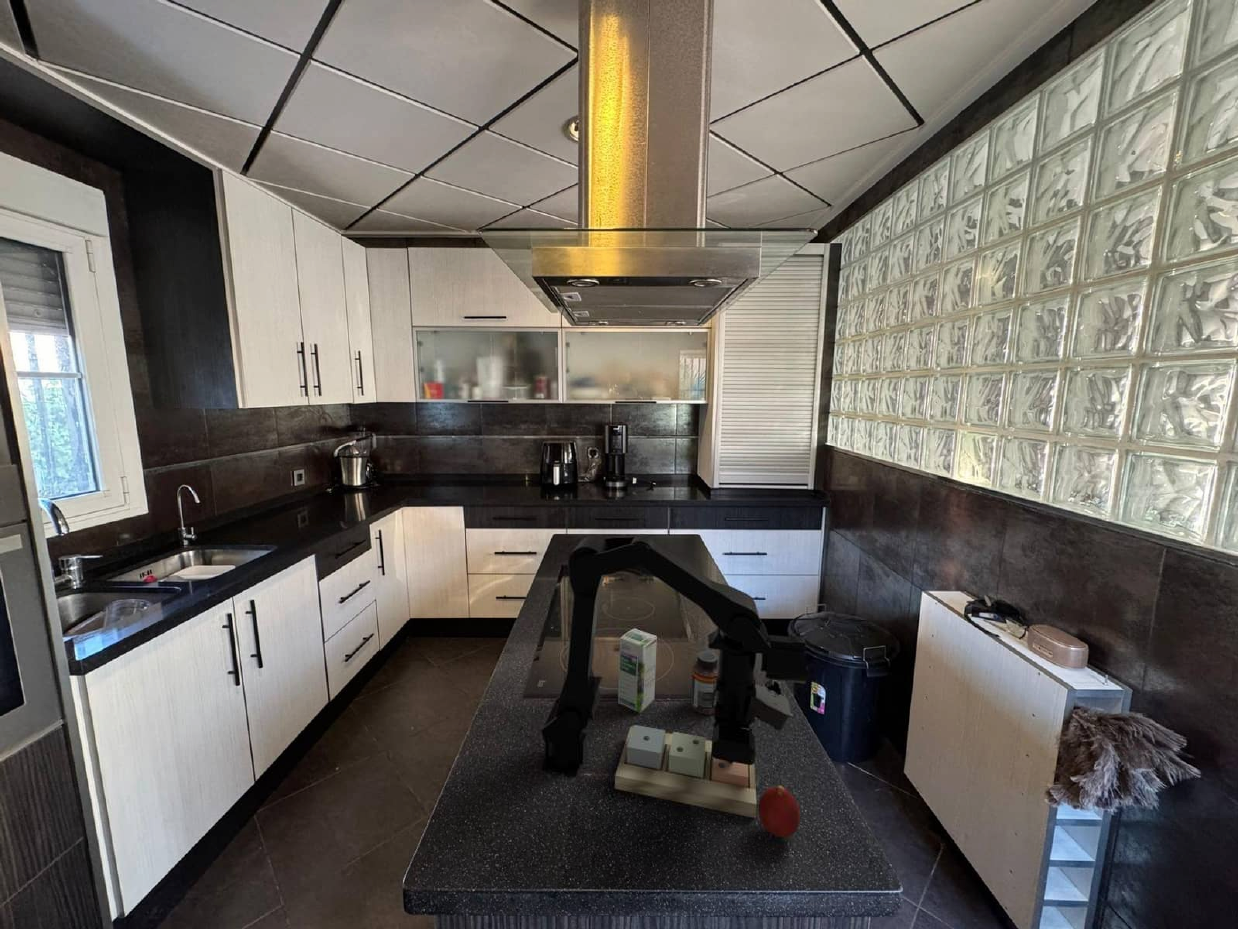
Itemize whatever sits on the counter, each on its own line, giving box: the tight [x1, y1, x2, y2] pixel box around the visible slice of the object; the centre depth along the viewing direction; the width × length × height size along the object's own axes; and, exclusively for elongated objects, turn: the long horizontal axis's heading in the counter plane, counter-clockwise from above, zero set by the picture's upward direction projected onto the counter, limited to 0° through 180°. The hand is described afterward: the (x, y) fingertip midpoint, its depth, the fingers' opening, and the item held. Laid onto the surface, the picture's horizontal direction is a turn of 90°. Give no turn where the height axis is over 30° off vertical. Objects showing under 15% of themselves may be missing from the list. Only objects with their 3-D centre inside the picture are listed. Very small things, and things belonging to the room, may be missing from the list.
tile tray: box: [614, 726, 757, 819], centre depth 83 cm, size 22×12×2 cm, turn 77°
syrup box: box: [617, 628, 658, 714], centre depth 101 cm, size 6×6×14 cm
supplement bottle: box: [690, 650, 719, 716], centre depth 100 cm, size 6×6×11 cm
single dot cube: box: [627, 724, 666, 769], centre depth 84 cm, size 6×6×3 cm
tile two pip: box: [668, 731, 707, 778], centre depth 82 cm, size 6×6×3 cm
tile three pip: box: [712, 757, 748, 788], centre depth 81 cm, size 6×6×3 cm
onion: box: [757, 785, 801, 838], centre depth 72 cm, size 6×6×8 cm
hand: (730, 760), depth 81 cm, fingers closed, pressing on tile three pip
